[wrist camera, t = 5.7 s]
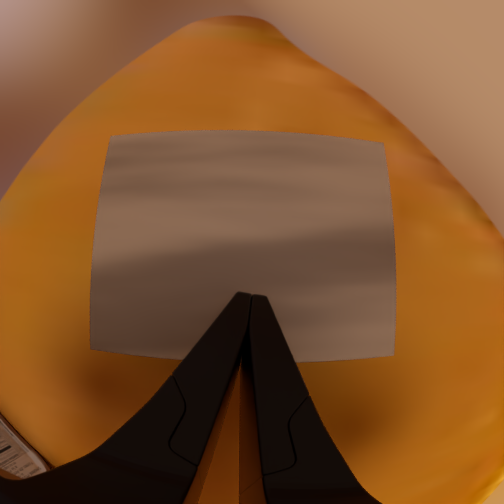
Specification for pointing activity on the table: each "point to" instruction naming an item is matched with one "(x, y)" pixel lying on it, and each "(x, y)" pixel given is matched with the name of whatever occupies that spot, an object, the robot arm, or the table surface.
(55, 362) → the table surface
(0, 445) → the tin
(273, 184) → the walnut board
